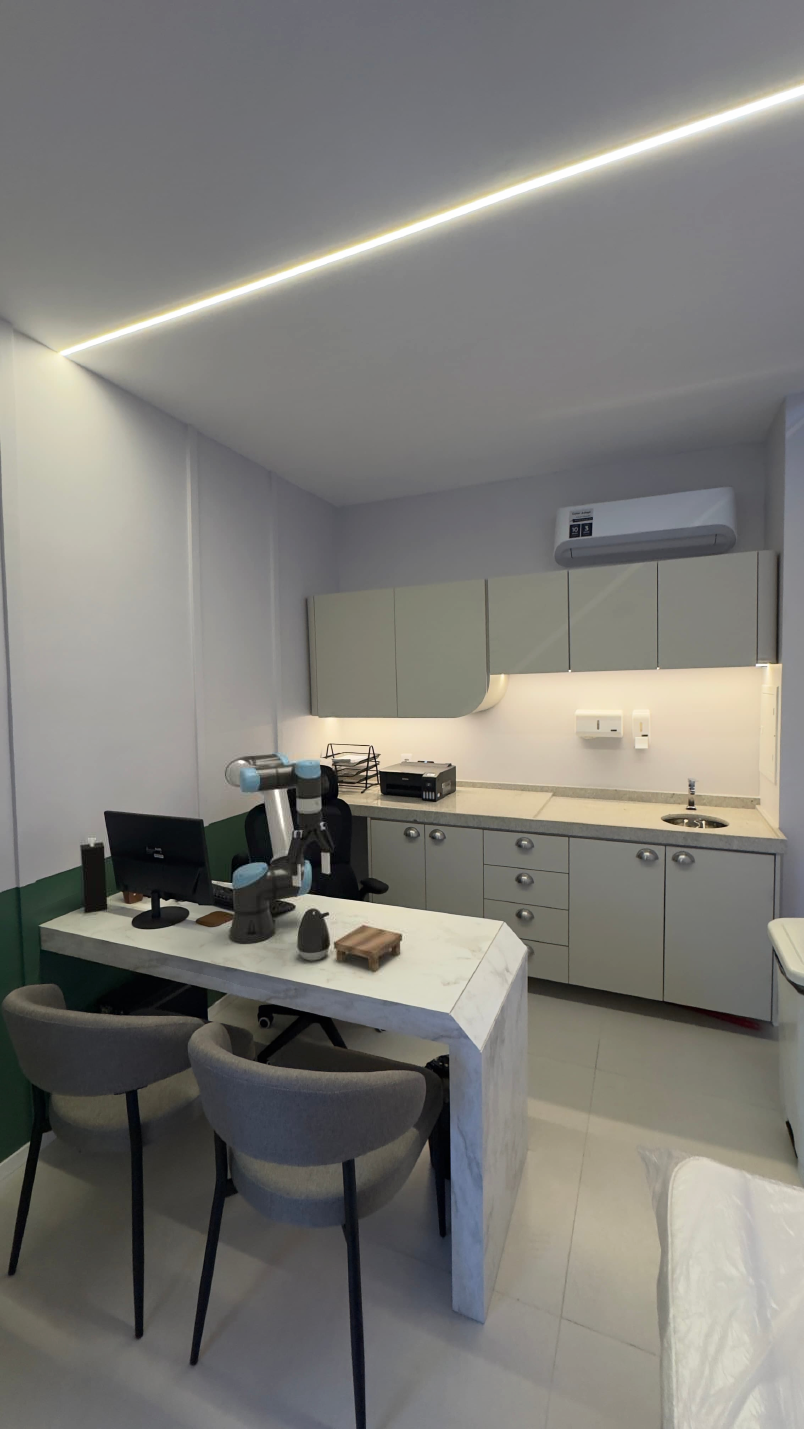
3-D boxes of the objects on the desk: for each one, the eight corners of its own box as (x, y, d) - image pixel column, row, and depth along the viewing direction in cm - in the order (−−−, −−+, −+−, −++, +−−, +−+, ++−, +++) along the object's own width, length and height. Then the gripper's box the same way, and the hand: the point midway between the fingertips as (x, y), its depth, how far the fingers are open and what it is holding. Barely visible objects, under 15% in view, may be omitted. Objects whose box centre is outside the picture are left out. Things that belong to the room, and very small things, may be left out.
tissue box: (107, 909, 234) (103, 837, 232) (84, 913, 230) (80, 841, 228) (106, 903, 241) (102, 833, 239) (83, 907, 237) (79, 836, 235)
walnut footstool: (334, 961, 184) (333, 942, 184) (363, 943, 197) (362, 924, 197) (375, 973, 176) (374, 952, 176) (402, 952, 189) (402, 934, 189)
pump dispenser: (325, 965, 182) (323, 916, 181) (292, 963, 184) (290, 914, 183) (335, 950, 192) (334, 903, 191) (304, 948, 194) (302, 902, 193)
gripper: (290, 820, 173) (293, 893, 174) (344, 804, 194) (346, 869, 195) (271, 817, 177) (274, 889, 178) (325, 802, 198) (328, 866, 199)
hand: (312, 879), depth 187 cm, fingers open, 13 cm apart
